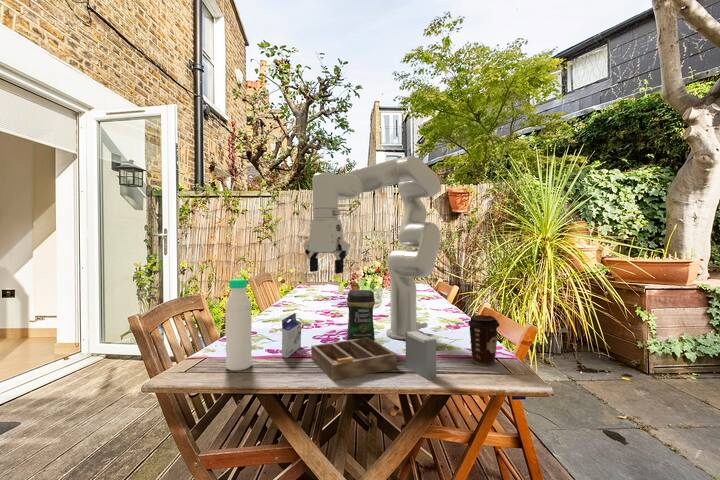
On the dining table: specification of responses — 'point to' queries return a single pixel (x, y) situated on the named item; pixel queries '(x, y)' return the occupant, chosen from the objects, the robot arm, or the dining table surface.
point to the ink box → (290, 335)
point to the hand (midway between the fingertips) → (326, 272)
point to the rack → (363, 349)
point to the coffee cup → (483, 339)
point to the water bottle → (238, 327)
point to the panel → (421, 354)
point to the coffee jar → (360, 314)
